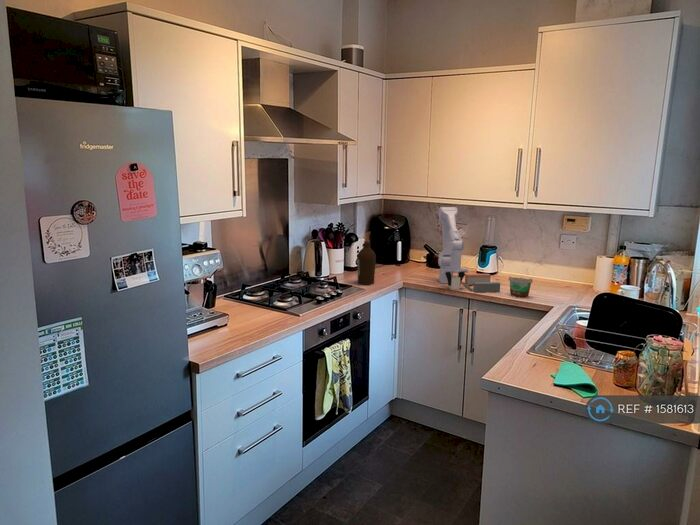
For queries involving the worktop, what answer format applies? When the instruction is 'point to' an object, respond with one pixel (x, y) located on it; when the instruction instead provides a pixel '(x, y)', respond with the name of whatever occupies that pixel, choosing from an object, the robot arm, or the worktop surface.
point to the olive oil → (366, 264)
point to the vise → (484, 287)
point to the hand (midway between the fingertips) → (454, 285)
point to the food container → (520, 286)
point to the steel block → (455, 282)
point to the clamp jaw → (476, 278)
